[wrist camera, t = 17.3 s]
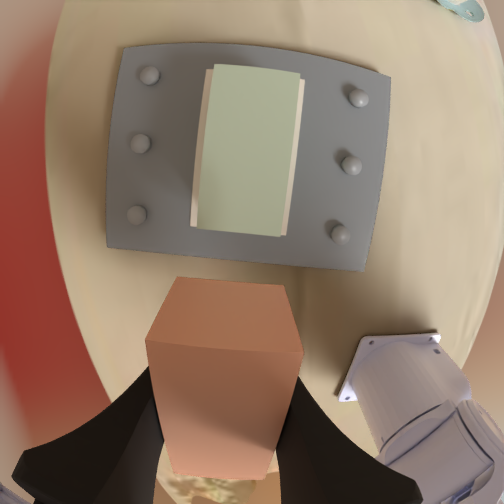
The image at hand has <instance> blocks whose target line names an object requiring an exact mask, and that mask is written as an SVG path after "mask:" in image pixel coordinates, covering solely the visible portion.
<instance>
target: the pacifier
mask: <svg viewBox="0 0 504 504" xmlns="http://www.w3.org/2000/svg"><path fill="white" fill-rule="evenodd" d="M436 1H437V2H439V3H440V4H441V5H442V6H443V7H445V8H446V9H449V10H451V11H454V12H455V13H456V14H458V15H459V16H460V17H462V18H463V19H465V20H467V21H470V22H480V21H482V20H483V19H484V12H483V9H482V8H481V6H480V5H479V4H478V3H477V1H476V0H436ZM466 11H468V12H470V13H471V14H472V16H470V15H468V14H467V13H466Z"/></svg>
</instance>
